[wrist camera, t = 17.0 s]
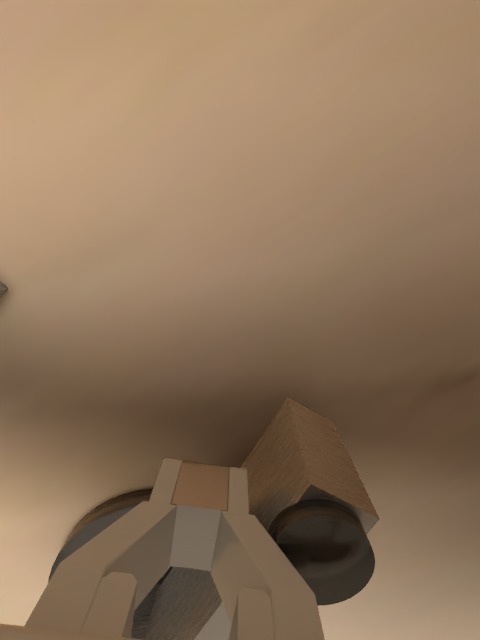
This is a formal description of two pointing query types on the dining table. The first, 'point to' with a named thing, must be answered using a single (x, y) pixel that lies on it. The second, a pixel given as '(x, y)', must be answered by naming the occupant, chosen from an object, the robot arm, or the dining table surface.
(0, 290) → the bay
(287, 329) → the dining table surface
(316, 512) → the crank
